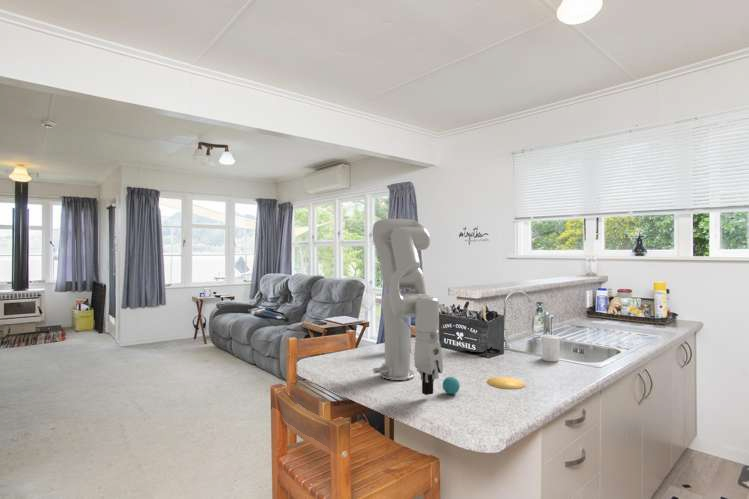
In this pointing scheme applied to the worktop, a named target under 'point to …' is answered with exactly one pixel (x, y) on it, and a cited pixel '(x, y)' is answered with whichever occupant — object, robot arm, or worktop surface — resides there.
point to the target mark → (506, 383)
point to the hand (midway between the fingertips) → (427, 393)
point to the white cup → (550, 347)
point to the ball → (451, 385)
